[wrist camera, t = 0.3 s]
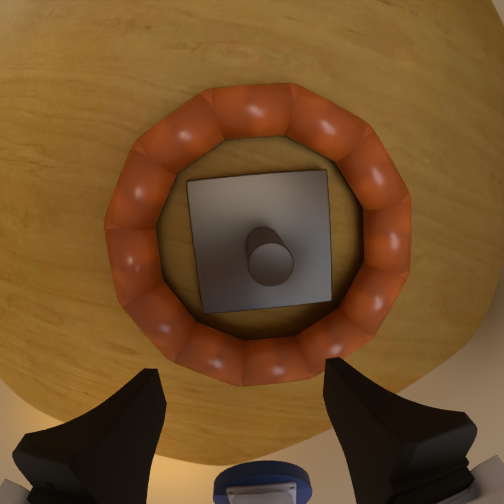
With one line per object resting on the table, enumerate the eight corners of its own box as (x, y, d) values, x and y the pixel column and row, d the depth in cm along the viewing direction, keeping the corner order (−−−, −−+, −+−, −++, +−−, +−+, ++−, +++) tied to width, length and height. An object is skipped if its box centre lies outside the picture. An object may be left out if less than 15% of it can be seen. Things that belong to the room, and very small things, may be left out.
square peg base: (328, 295, 20) (356, 334, 14) (204, 308, 19) (193, 352, 14) (322, 169, 18) (355, 166, 12) (188, 181, 18) (167, 181, 12)
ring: (389, 347, 21) (406, 368, 18) (148, 373, 21) (138, 397, 18) (386, 94, 17) (408, 83, 14) (106, 115, 16) (85, 106, 14)
